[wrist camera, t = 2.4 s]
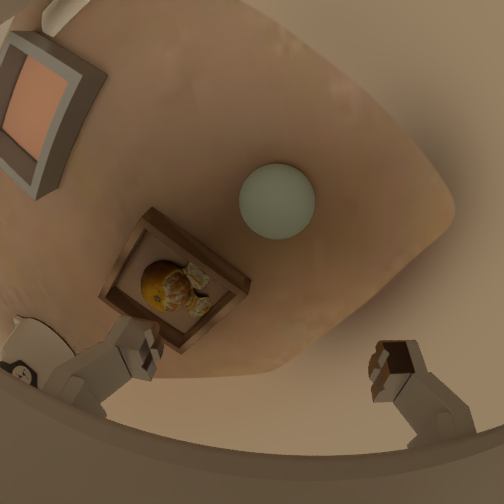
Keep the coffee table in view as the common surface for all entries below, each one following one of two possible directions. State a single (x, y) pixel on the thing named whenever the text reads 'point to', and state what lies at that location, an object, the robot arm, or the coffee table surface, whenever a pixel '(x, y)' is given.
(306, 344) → the coffee table surface
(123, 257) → the fruit tray
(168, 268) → the fruit
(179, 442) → the robot arm
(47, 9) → the heart sculpture
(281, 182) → the ball
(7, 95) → the grey square tray
